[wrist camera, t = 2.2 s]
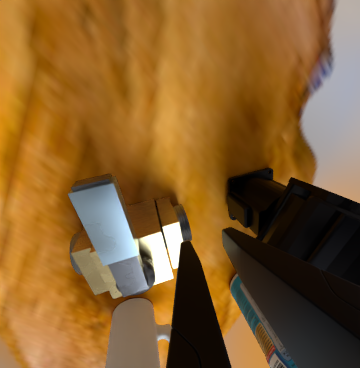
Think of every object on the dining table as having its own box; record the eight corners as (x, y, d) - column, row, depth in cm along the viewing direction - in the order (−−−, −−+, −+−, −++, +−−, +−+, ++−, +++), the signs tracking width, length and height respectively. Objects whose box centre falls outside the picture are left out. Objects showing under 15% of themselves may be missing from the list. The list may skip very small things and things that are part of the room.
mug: (109, 328, 27) (93, 470, 16) (111, 298, 25) (92, 440, 14) (171, 318, 30) (191, 433, 19) (177, 291, 28) (204, 404, 17)
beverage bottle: (251, 254, 29) (446, 486, 11) (276, 270, 32) (455, 466, 14) (218, 288, 30) (345, 548, 12) (246, 300, 33) (376, 515, 15)
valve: (177, 192, 21) (193, 222, 15) (184, 230, 23) (201, 268, 18) (75, 219, 19) (49, 264, 13) (95, 257, 22) (80, 310, 16)
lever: (122, 165, 12) (119, 177, 9) (157, 275, 16) (160, 300, 14) (72, 177, 11) (57, 191, 9) (123, 287, 16) (121, 315, 13)
